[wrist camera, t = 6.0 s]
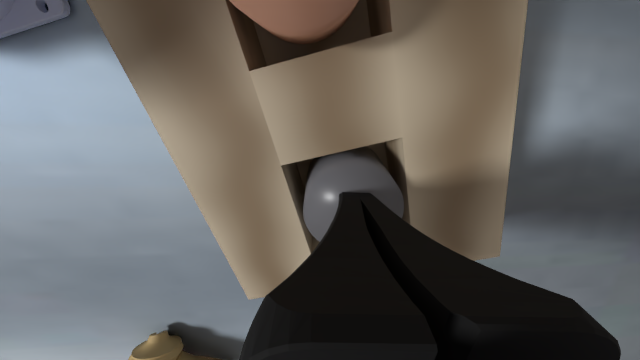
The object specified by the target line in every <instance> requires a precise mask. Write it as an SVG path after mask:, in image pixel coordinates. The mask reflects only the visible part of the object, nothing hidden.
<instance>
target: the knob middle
mask: <svg viewBox="0 0 640 360" xmlns="http://www.w3.org/2000/svg"><path fill="white" fill-rule="evenodd" d="M229 1H230V2H231V3H232V4H233V5H234V6H235V7H237V8H238V9H239V10H240V11H242V12H243V13H244V14H246V15H247V16H248V17H250V18H251V19H252V20H254V21H255V22H256V23H258V24H259V25H260V26H262V27H263V28H264V29H266V30H267V31H268V32H270V33H271V34H272V35H274V36H276V37H277V38H279V39H282V40H284V41H286V42H290V43H295V44H310V43H315V42H318V41H321V40H324V39H326V38H327V37H329V36H331V35H332V34H334V33H335V32H336V31H337V30H339V29H340V28H341V27H342V26H343V24H344V23H345V22H346V21H347V20H348V18H349V17H350V15H351V13H352V12H353V10H354V8H355V7H356V5H357V3H358V1H359V0H229Z"/></svg>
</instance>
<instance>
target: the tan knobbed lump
mask: <svg viewBox="0 0 640 360" xmlns="http://www.w3.org/2000/svg"><path fill="white" fill-rule="evenodd" d="M183 347H184V345H183V343H182V341H181V338H180V337H179V336H176V335H171V336H169V334H168V331H163V332H161V333H159V334H156V333H153V334H151V335H150V336H149V338H148V340H147V341H145V342H143V343H141V344H140V345H138V346H137V347H136V348H134V350H133V351H132V354H131V356H130V357H129V359H128V360H222V359H217V358H211V357H204V356H195V355H192V354H189V353H187V352H185V351H182V349H183Z"/></svg>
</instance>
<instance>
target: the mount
mask: <svg viewBox="0 0 640 360" xmlns="http://www.w3.org/2000/svg"><path fill="white" fill-rule="evenodd" d="M86 1H87V3H88V5H89V6H90V8H91V10H92V12H93V14H94V16H95V17H96V19H97V21H98V23H99V25H100V27H101V28H102V30H103V32H104V34H105V36H106V38H107V39H108V41H109V43H110V45H111V47H112V49H113V51H114V52H115V54H116V56H117V58H118V60H119V62H120V63H121V65H122V67H123V69H124V71H125V73H126V74H127V76H128V78H129V80H130V82H131V84H132V85H133V87H134V89H135V91H136V93H137V95H138V97H139V98H140V100H141V102H142V104H143V106H144V108H145V109H146V111H147V113H148V115H149V117H150V119H151V120H152V122H153V124H154V126H155V128H156V130H157V131H158V133H159V135H160V137H161V139H162V141H163V143H164V144H165V146H166V148H167V150H168V152H169V154H170V155H171V157H172V159H173V161H174V163H175V165H176V166H177V168H178V170H179V172H180V174H181V176H182V177H183V179H184V181H185V183H186V185H187V187H188V189H189V190H190V192H191V194H192V196H193V198H194V200H195V201H196V203H197V205H198V207H199V209H200V211H201V212H202V214H203V216H204V218H205V220H206V222H207V223H208V225H209V227H210V229H211V231H212V233H213V234H214V236H215V238H216V240H217V242H218V244H219V246H220V247H221V249H222V251H223V253H224V255H225V257H226V258H227V260H228V262H229V264H230V266H231V268H232V269H233V271H234V273H235V275H236V277H237V279H238V280H239V282H240V284H241V286H242V288H243V290H244V292H245V293H246V295H247V297H248V299H249V300H250V299H255V298H261V297H265V296H266V295H267V294H268V293H270V292H271V291H272V290H273V289H275V288H276V287H277V286H278V285H279V284H281V283H282V282H283V281H284V280H285V279H287V278H288V277H289V276H290V275H291V274H292V273H293V272H294V271H295V270H296V269H297V268H298V267H299V266H300V265H301V264H302V263H303V262H304V261H305V260H306V259H307V258H308V257H309V255H310V254H311V253H312V252H313V251H314V249H315V248H316V247H317V245H318V244H319V243H320V242H319V241H318V240H317V239H316V238H315V237H313V235H312V234H311V233H310V232H309V230H308V228H307V226H306V224H305V221H304V216H303V206H304V197H305V189H306V180H307V173H308V168H309V166H310V163H311V162H312V160H313V158H316V157H320V156H325V155H329V154H333V153H338V152H342V151H346V150H351V149H355V148H359V147H364V146H367V147H369V148H370V149H371V150H373V151H374V152H375V153H376V154H377V156H378V157H379V158H380V160H381V161H382V163H383V164H384V166H385V167H386V169H387V170H388V172H389V173H390V175H391V176H392V178H393V179H394V181H395V182H396V184H397V185H398V187H399V189H400V190H401V193H402V195H403V200H404V212H403V216H402V219H403V220H404V221H406V222H407V223H409V224H410V225H411V226H413V227H414V228H416V229H417V230H418V231H420V232H422V233H423V234H425V235H426V236H428V237H430V238H431V239H433V240H435V241H436V242H438V243H440V244H441V245H443V246H445V247H447V248H449V249H451V250H453V251H455V252H457V253H459V254H461V255H463V256H465V257H467V258H469V259H471V260H473V261H475V260H480V259H486V258H492V257H498V256H500V249H501V240H502V231H503V222H504V213H505V204H506V195H507V186H508V177H509V168H510V159H511V150H512V141H513V132H514V123H515V114H516V105H517V96H518V87H519V78H520V69H521V60H522V51H523V42H524V32H525V23H526V14H527V5H528V0H359V1H358V3H357V5H356V7H355V8H354V10H353V12H352V13H351V15H350V17H349V18H348V20H347V21H346V22H345V23H344V24H343V26H342V27H341V28H340V29H339V30H337V31H336V32H335V33H334V34H332V35H331V36H329V37H327V38H326V39H324V40H321V41H318V42H315V43H310V44H295V43H290V42H286V41H284V40H282V39H279V38H277V37H276V36H274V35H272V34H271V33H270V32H268V31H267V30H266V29H264V28H263V27H262V26H260V25H259V24H258V23H256V22H255V21H254V20H252V19H251V18H250V17H248V16H247V15H246V14H244V13H243V12H242V11H240V10H239V9H238V8H237V7H235V6H234V5H233V4H232V3H231V2H230V1H229V0H86Z"/></svg>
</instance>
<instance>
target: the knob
mask: <svg viewBox="0 0 640 360" xmlns="http://www.w3.org/2000/svg"><path fill="white" fill-rule="evenodd" d="M342 192H352V193H371V194H372V195H374V196H375V197H376V198H377V199H378V200H380V201H381V202H382V203H383V204H384V205H385V206H387V207H388V208H389V209H390V210H392V211H393V212H394V213H395V214H397V215H398V216H399V217H400V218H402V216H403V212H404V200H403V195H402V193H401V190H400V189H399V187H398V185H397V184H396V182H395V181H394V179H393V178H392V176H391V175H390V173H389V172H388V170H387V169H386V167H385V166H384V164H383V163H382V161H381V160H380V158H379V157H378V156H377V154H376V153H375V152H374V151H373V150H371V149H370V148H369V147H367V146H364V147H359V148H355V149H351V150H346V151H342V152H338V153H333V154H329V155H325V156H320V157H316V158H313V160H312V162H311V163H310V166H309V168H308V173H307V180H306V189H305V197H304V206H303V216H304V221H305V224H306V226H307V228H308V230H309V232H310V233H311V234H312V235H313V237H315V238H316V239H317V240H318V241H319V242H320V241H321V240H322V238H323V237H324V235H325V234H326V232H327V230H328V229H329V227H330V225H331V223H332V221H333V219H334V216H335V214H336V211H337V208H338V203H339V194H340V193H342Z"/></svg>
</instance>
